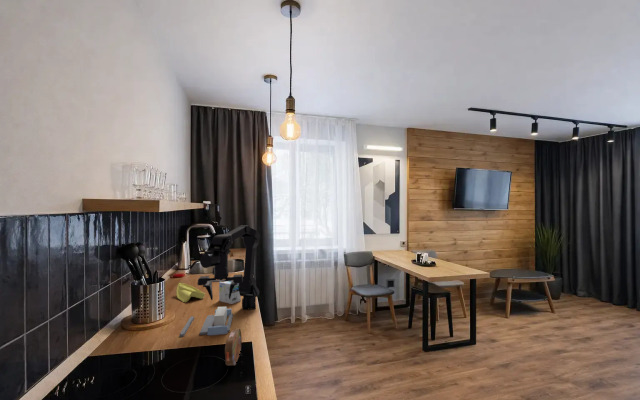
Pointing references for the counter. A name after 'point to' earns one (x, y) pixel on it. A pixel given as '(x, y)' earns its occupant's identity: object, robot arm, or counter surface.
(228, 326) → the grey long bars
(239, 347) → the tin
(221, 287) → the light bulb box
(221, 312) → the white rectangular prism
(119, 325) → the counter surface
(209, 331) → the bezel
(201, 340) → the counter surface
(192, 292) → the plastic component
